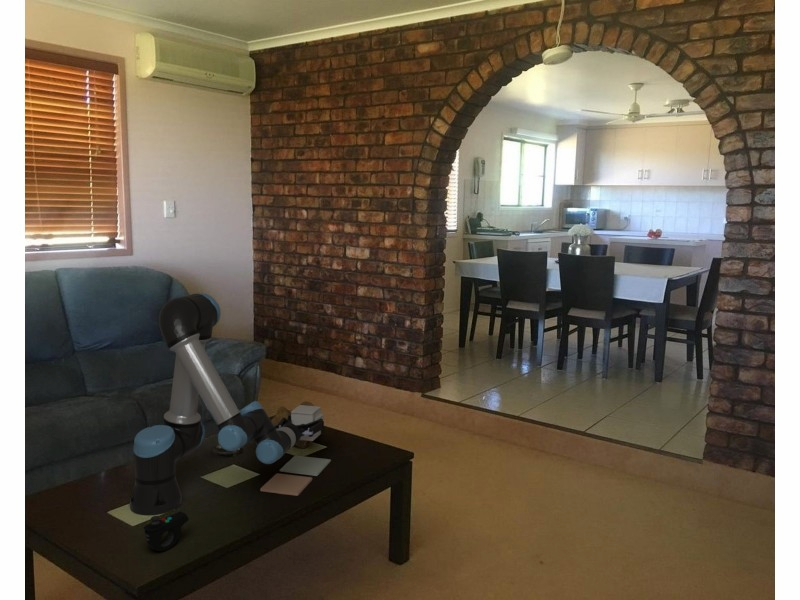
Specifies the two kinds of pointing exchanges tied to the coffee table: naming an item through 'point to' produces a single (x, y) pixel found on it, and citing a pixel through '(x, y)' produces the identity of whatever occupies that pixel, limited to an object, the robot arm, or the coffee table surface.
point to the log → (225, 452)
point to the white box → (306, 418)
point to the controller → (164, 530)
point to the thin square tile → (286, 484)
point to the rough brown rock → (285, 413)
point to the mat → (305, 465)
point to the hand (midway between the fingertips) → (311, 416)
